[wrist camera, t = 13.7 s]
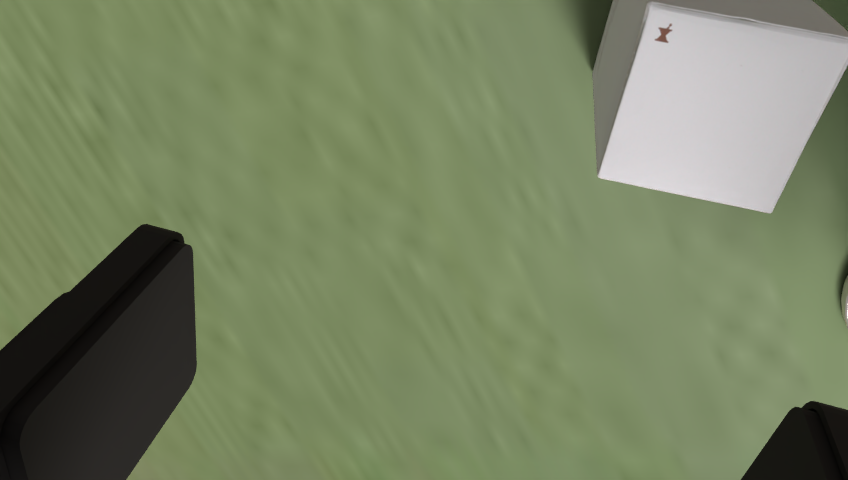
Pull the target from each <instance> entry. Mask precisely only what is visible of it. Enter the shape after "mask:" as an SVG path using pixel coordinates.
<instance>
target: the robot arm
mask: <svg viewBox="0 0 848 480" xmlns="http://www.w3.org/2000/svg"><path fill="white" fill-rule="evenodd" d="M841 306H842V315H843V318H844V321H845V323H846V326H847V328H848V276H847V278H846V280H845V283H844V286H843V292H842V297H841ZM196 365H197V361H196V331H195V300H194V270H193V250H192V247H191V246H190V245H188V244H184V238H183V236H182V234H180V233H178V232H175V231H171V230H167V229H163V228H160V227H156V226H152V225H148V224H144V225H141V226H140V227H138V228H137V229H136V230H135V231H134V232H133V233H131V234H130V235H129V236H128V237H127V238H126V239H125V240H124V241H123V242H122V243H121V244H120V245H119V246H118V247H117V248H116V249H114V250H113V251H112V252H111V253H110V254H109V255H108V256H107V257H106V258H105V259H104V260H103V261H102V262H101V263H100V264H98V265H97V266H96V267H95V268H94V269H93V270H92V271H91V272H90V273H89V274H88V275H87V276H86V277H85V278H84V279H83V280H81V281H80V282H79V283H78V284H77V285H76V286H75V287H74V288H73V289H72V290H71V291H70V292H67V293H64V294H62V295H61V296H60V297H58V298H57V299H55V300H54V301H53V302H52V303H51V304H50V305H49V306H48V307H47V308H46V309H45V310H43V311H42V312H41V313H40V314H39V315H38V316H37V317H36V318H35V319H34V320H33V321H32V322H31V323H29V324H28V325H27V326H26V327H25V328H24V329H23V330H22V331H21V332H20V333H19V334H18V335H17V336H15V337H14V338H13V339H12V340H11V341H10V342H9V343H8V344H7V345H6V346H5V347H4V348H3V349H1V350H0V480H126V479H127V478H128V476H129V475H130V473H131V472H132V470H133V469H134V467H135V466H136V464H137V463H138V462H139V460H140V459H141V457H142V456H143V454H144V453H145V451H146V450H147V448H148V447H149V445H150V444H151V443H152V441H153V440H154V438H155V437H156V435H157V434H158V432H159V431H160V429H161V428H162V427H163V425H164V424H165V422H166V421H167V419H168V418H169V416H170V415H171V413H172V412H173V410H174V409H175V408H176V406H177V405H178V403H179V402H180V400H181V399H182V397H183V396H184V394H185V393H186V392H187V390H188V389H189V387H190V385H191V383H192V381H193V379H194V376H195V372H196ZM741 480H848V410H846V409H842V408H838V407H834V406H830V405H827V404H823V403H819V402H815V401H810V402H808V403H806V404H805V405H804V406H803V407H802V408H799V407H794V408H792V409H791V410H790V411H789V412H788V414H787V415H786V416H785V418H784V419H783V421H782V422H781V423H780V425H779V426H778V428H777V429H776V431H775V432H774V433H773V435H772V436H771V438H770V439H769V441H768V442H767V443H766V445H765V446H764V448H763V449H762V450H761V452H760V453H759V455H758V456H757V458H756V459H755V460H754V462H753V463H752V465H751V466H750V468H749V469H748V470H747V472H746V473H745V475H744V476H743V478H742V479H741Z"/></svg>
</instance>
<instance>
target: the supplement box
mask: <svg viewBox="0 0 848 480" xmlns="http://www.w3.org/2000/svg"><path fill="white" fill-rule="evenodd" d="M847 66H848V31H847V30H846V29H845V28H844V27H843V26H841V25H840V24H839V23H838V22H837V21H836V20H835V19H834V18H832V17H831V16H830V15H829V14H828V13H826V12H825V11H824V10H823V9H822V8H821V7H819V6H818V5H817V4H816V3H815V2H813V1H812V0H613V2H612V5H611V8H610V12H609V15H608V19H607V23H606V26H605V30H604V33H603V37H602V40H601V44H600V47H599V51H598V54H597V58H596V62H595V65H594V69H593V74H592V77H593V96H594V116H595V141H596V159H597V175H598V177H599V178H602V179H606V180H611V181H616V182H621V183H626V184H630V185H635V186H640V187H645V188H649V189H654V190H659V191H664V192H669V193H673V194H678V195H683V196H688V197H693V198H698V199H703V200H707V201H712V202H717V203H722V204H727V205H732V206H736V207H741V208H746V209H751V210H756V211H761V212H765V213H772V212H773V209H774V207H775V205H776V203H777V201H778V199H779V197H780V195H781V193H782V191H783V189H784V187H785V185H786V183H787V181H788V179H789V177H790V175H791V173H792V171H793V169H794V167H795V165H796V163H797V161H798V159H799V157H800V155H801V153H802V151H803V149H804V147H805V145H806V143H807V141H808V139H809V137H810V135H811V134H812V132H813V130H814V128H815V126H816V124H817V122H818V120H819V119H820V117H821V115H822V113H823V111H824V109H825V107H826V105H827V103H828V102H829V100H830V98H831V96H832V94H833V92H834V90H835V89H836V87H837V85H838V83H839V81H840V79H841V77H842V75H843V73H844V71H845V69H846V68H847Z"/></svg>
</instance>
